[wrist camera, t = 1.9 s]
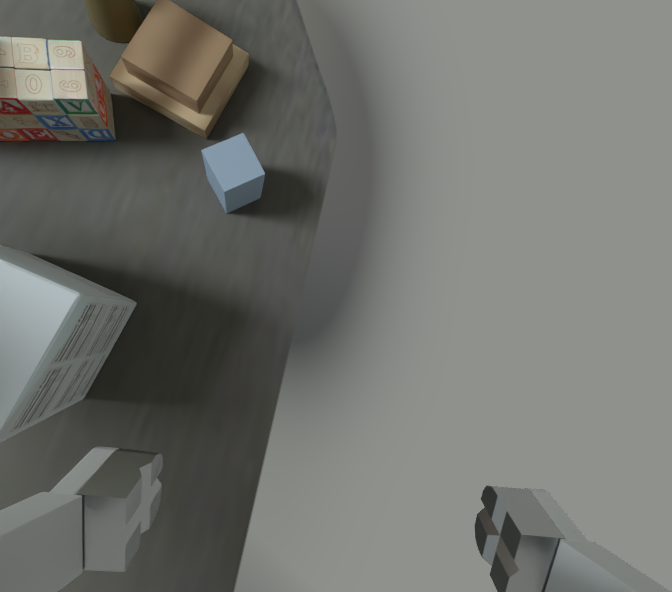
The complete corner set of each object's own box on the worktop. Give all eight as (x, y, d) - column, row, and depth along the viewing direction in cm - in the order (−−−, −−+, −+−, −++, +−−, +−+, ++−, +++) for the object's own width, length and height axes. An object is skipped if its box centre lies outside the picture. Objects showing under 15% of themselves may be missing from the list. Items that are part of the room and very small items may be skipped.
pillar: (226, 213, 50) (224, 191, 41) (207, 179, 50) (201, 150, 41) (260, 197, 51) (265, 173, 42) (242, 164, 51) (243, 132, 42)
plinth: (115, 88, 47) (100, 59, 42) (163, 13, 49) (154, -24, 44) (206, 139, 50) (202, 118, 44) (248, 66, 52) (249, 37, 46)
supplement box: (-37, 355, 42) (-222, 381, 25) (28, 251, 44) (-103, 210, 27) (84, 401, 45) (-10, 453, 28) (139, 301, 47) (83, 292, 30)
